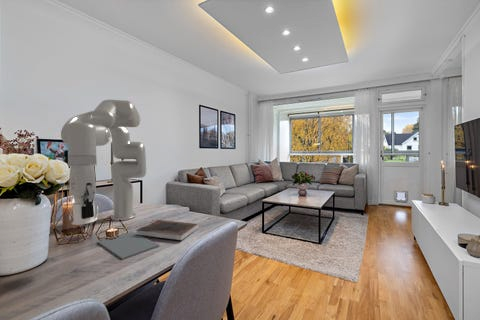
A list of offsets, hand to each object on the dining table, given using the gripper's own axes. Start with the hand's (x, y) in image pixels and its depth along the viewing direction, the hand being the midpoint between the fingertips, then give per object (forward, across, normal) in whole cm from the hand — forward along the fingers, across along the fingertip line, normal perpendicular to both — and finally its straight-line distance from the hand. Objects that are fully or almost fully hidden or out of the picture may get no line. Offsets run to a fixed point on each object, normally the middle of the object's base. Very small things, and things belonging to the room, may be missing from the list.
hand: (84, 215), depth 73 cm
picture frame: (+16, -2, +34) cm, 37 cm away
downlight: (+2, 0, 0) cm, 2 cm away
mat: (+16, -4, +16) cm, 23 cm away
